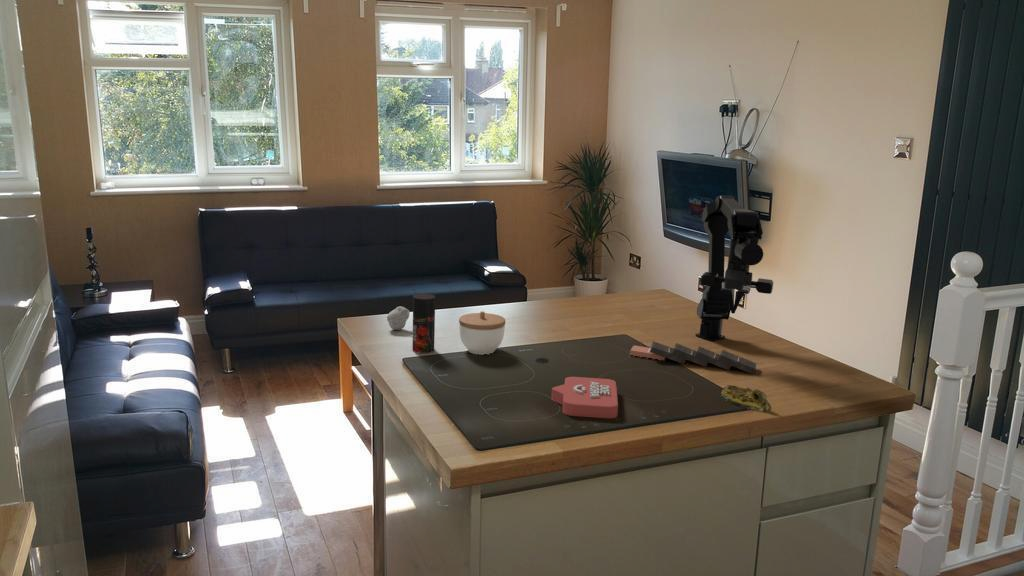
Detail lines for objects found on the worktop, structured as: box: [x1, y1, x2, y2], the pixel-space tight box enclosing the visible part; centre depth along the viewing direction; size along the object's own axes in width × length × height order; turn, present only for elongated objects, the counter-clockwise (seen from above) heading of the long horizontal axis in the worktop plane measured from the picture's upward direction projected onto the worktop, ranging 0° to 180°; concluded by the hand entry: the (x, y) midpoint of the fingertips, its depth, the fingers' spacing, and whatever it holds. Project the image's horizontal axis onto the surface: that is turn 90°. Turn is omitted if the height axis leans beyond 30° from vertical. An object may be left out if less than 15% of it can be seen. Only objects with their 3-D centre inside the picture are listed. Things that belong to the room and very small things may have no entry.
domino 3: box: [672, 343, 709, 368], centre depth 211 cm, size 2×5×10 cm
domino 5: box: [718, 349, 757, 375], centre depth 208 cm, size 2×5×10 cm
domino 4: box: [695, 345, 732, 371], centre depth 210 cm, size 2×5×10 cm
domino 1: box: [629, 344, 667, 362], centre depth 216 cm, size 2×5×10 cm
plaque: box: [551, 376, 619, 419], centre depth 180 cm, size 18×4×15 cm
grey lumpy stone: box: [386, 306, 410, 331], centre depth 230 cm, size 6×7×7 cm
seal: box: [720, 384, 770, 413], centre depth 186 cm, size 9×5×15 cm
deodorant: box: [412, 293, 436, 354], centre depth 211 cm, size 6×6×15 cm
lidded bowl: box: [458, 310, 506, 356], centre depth 213 cm, size 13×13×11 cm
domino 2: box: [650, 340, 687, 365], centre depth 213 cm, size 2×5×10 cm
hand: (733, 313), depth 214 cm, fingers closed
